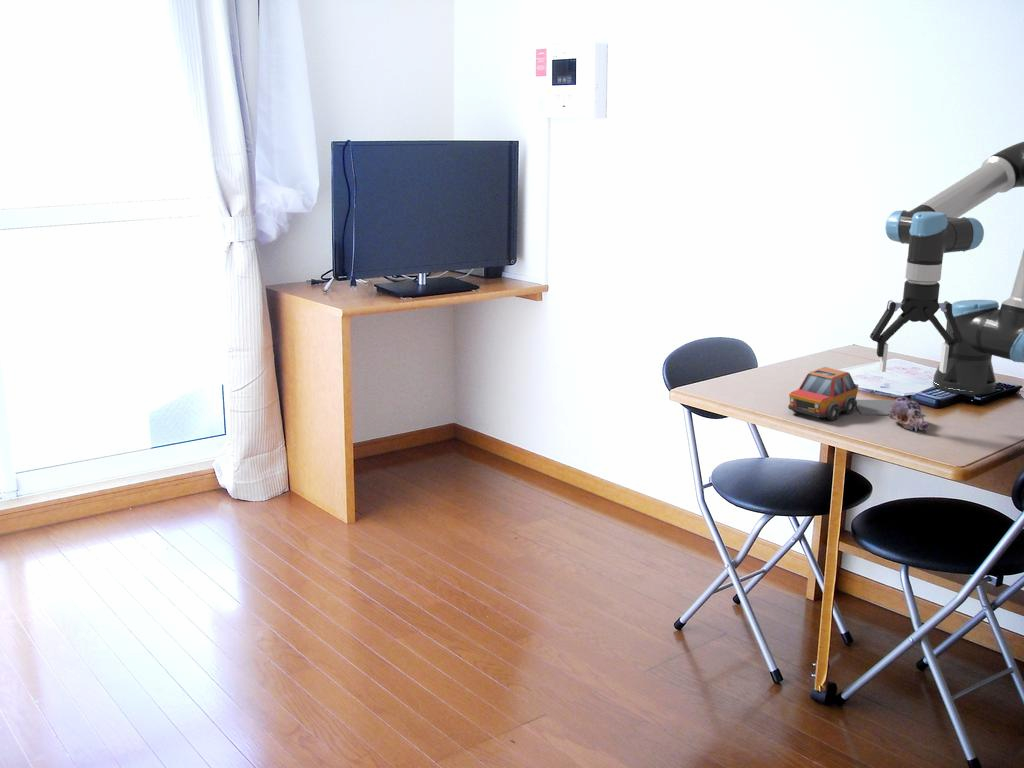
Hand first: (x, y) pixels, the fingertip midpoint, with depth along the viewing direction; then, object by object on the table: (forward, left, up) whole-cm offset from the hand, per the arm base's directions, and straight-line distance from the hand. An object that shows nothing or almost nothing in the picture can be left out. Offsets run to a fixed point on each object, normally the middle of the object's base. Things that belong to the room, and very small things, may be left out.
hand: (912, 371), depth 244 cm
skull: (0, +1, -14) cm, 14 cm away
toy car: (+18, -9, -14) cm, 24 cm away
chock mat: (+1, -13, -13) cm, 18 cm away
